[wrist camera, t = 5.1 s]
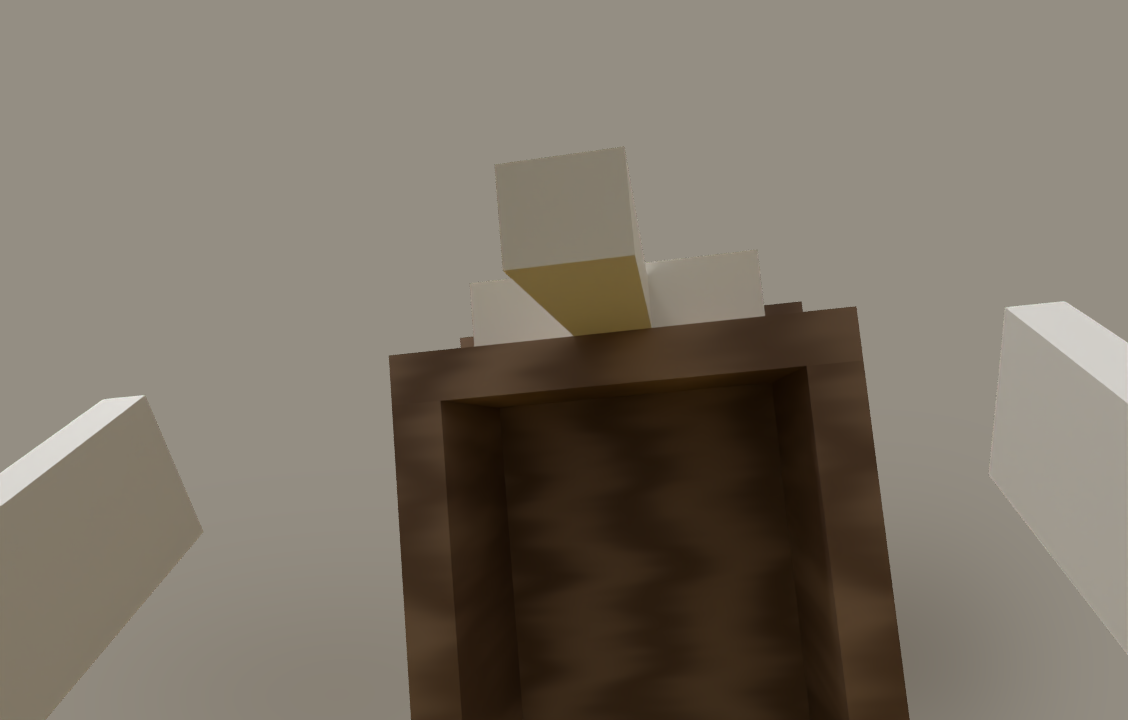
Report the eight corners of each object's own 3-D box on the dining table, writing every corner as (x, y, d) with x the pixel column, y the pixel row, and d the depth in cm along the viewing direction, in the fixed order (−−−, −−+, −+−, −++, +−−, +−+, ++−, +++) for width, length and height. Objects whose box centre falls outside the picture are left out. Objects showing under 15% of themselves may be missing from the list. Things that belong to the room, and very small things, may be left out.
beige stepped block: (316, 292, 17) (310, 170, 18) (514, 368, 39) (510, 312, 39) (846, 229, 16) (828, 95, 16) (746, 345, 37) (740, 287, 38)
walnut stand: (439, 1185, 26) (385, 306, 30) (512, 952, 38) (467, 341, 42) (973, 1215, 24) (849, 253, 27) (875, 956, 36) (796, 306, 39)
